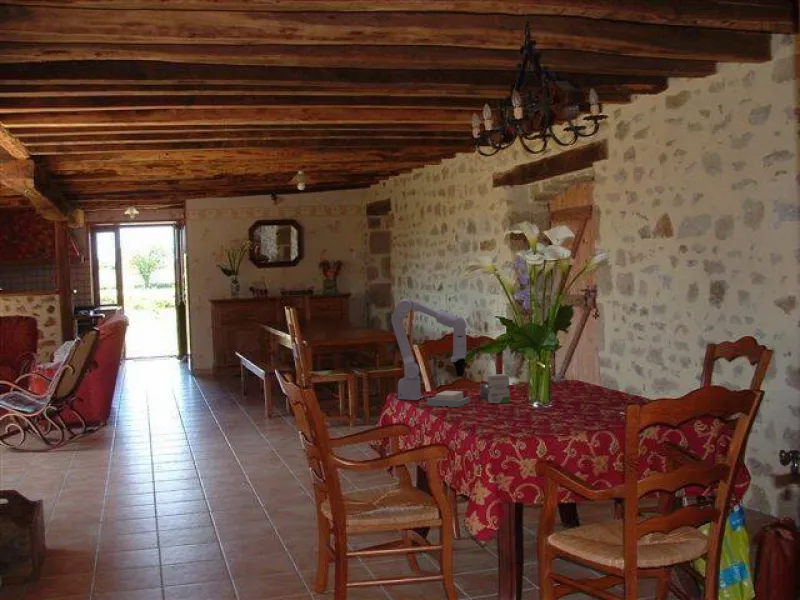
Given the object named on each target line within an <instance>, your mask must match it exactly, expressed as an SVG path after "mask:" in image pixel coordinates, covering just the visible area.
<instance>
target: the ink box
mask: <svg viewBox="0 0 800 600" xmlns="http://www.w3.org/2000/svg"><path fill="white" fill-rule="evenodd" d="M486 378H487V384H488V400H487V402H488V403H489V404H490V403H495V404H510V403H511V395H510V375H508V374H507V373H504V374H502V373H501V374H487V377H486Z"/></svg>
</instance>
